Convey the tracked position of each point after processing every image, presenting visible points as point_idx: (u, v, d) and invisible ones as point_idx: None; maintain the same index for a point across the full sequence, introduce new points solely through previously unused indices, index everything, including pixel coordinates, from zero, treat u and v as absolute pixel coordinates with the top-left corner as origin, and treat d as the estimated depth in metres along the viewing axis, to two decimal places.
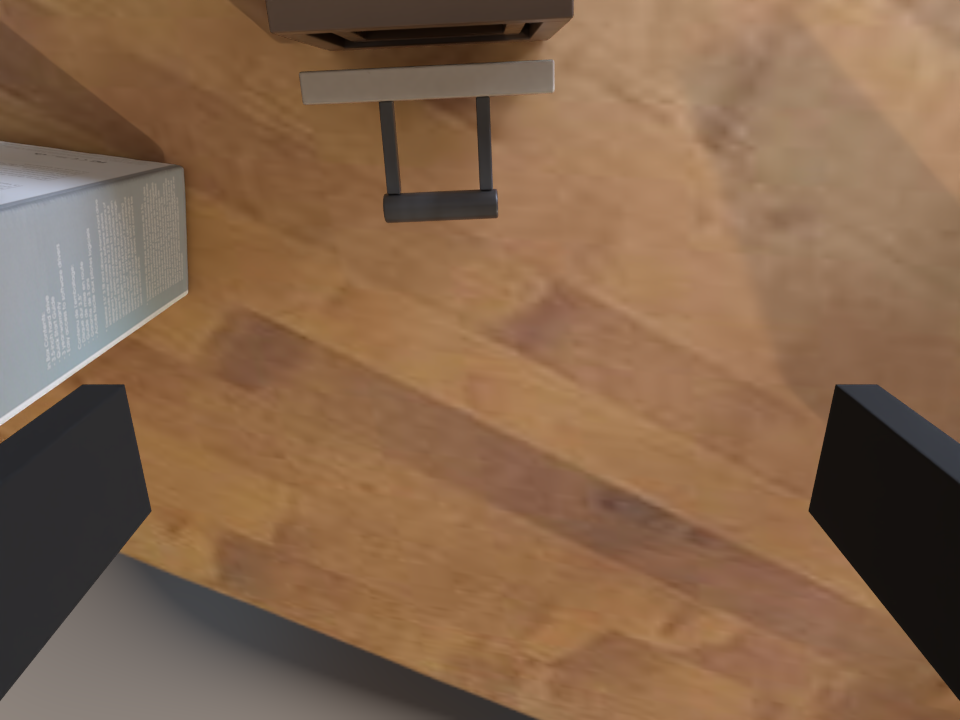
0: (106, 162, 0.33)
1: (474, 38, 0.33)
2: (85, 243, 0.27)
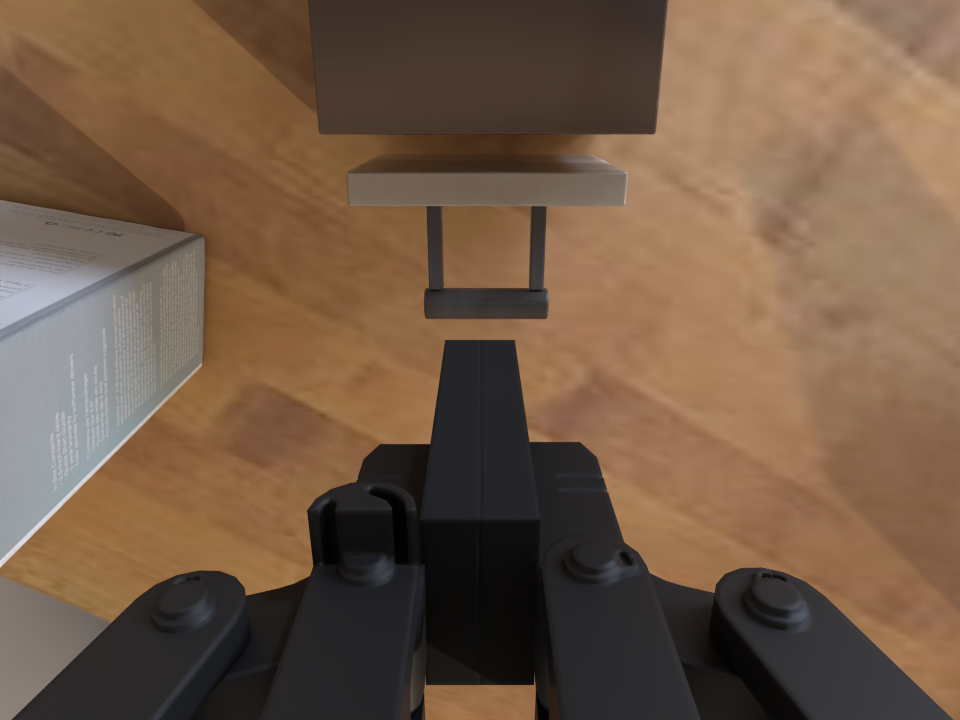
0: (122, 235, 0.30)
1: None
2: (100, 344, 0.24)
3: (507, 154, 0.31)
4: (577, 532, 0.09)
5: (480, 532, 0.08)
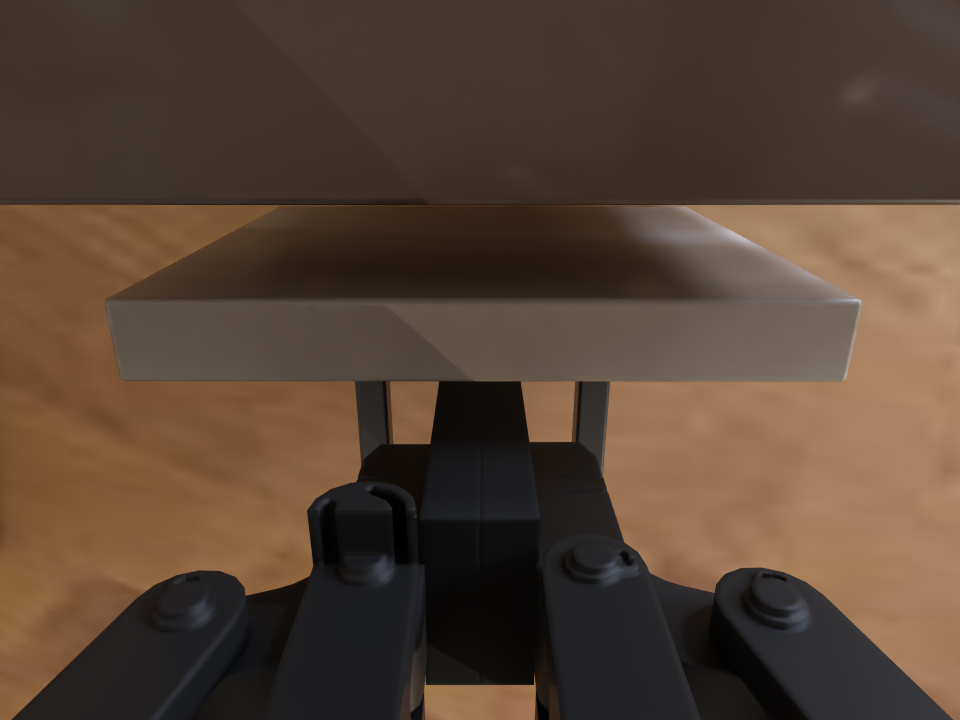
0: None
1: None
2: None
3: None
4: (578, 532, 0.09)
5: (480, 532, 0.08)
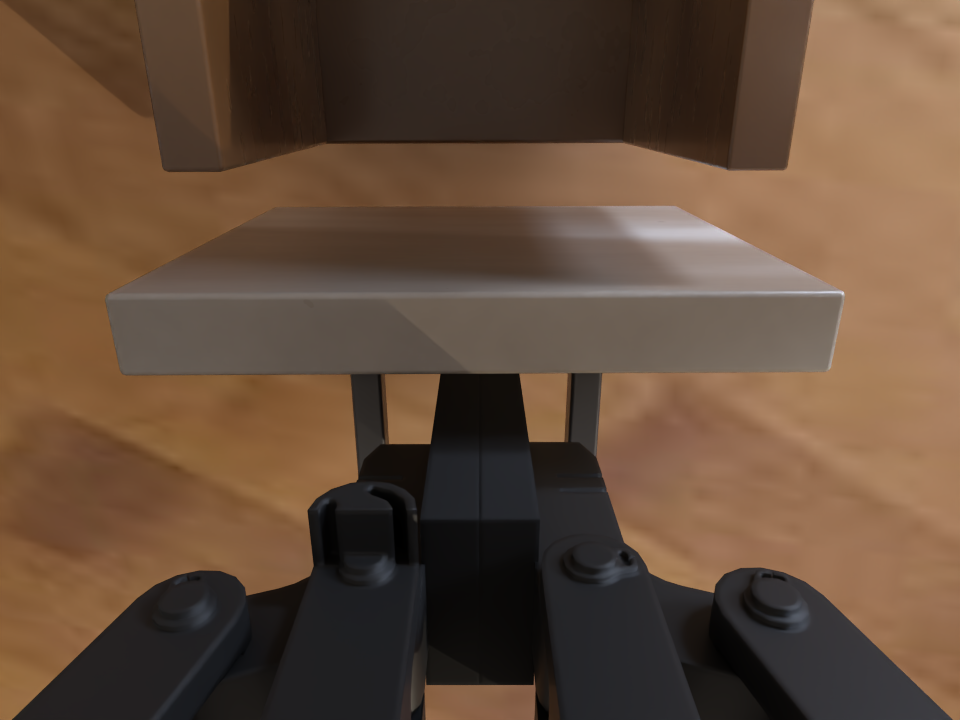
0: None
1: None
2: None
3: (515, 206, 0.16)
4: (577, 532, 0.09)
5: (480, 532, 0.08)
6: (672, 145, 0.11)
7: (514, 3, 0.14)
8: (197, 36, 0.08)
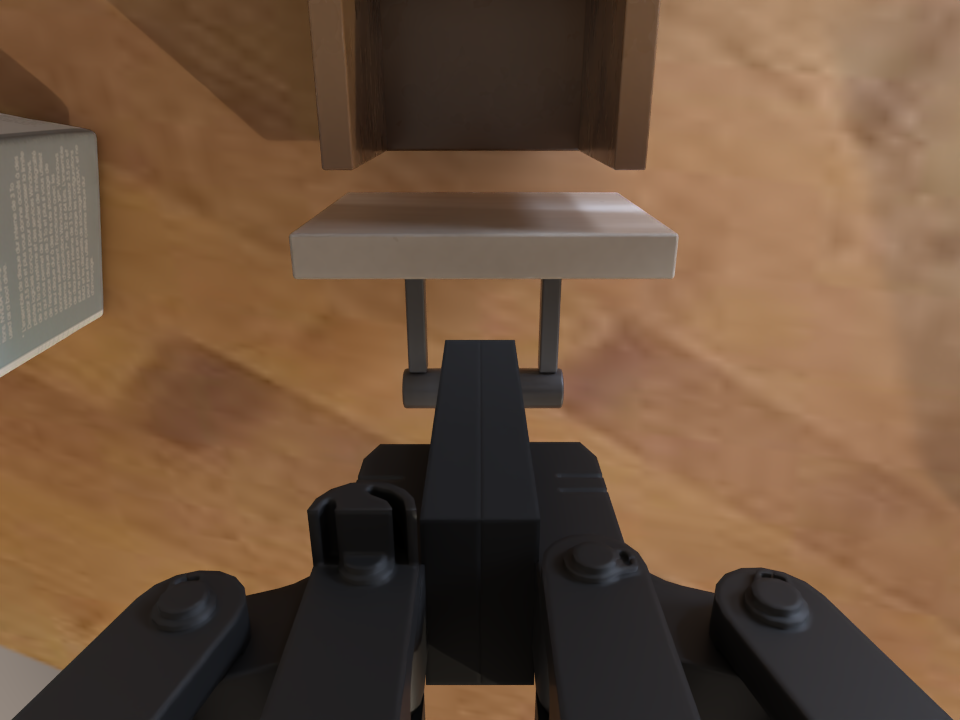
0: None
1: None
2: None
3: (509, 192, 0.24)
4: (578, 532, 0.09)
5: (480, 532, 0.08)
6: (597, 154, 0.19)
7: (508, 62, 0.22)
8: (345, 102, 0.16)
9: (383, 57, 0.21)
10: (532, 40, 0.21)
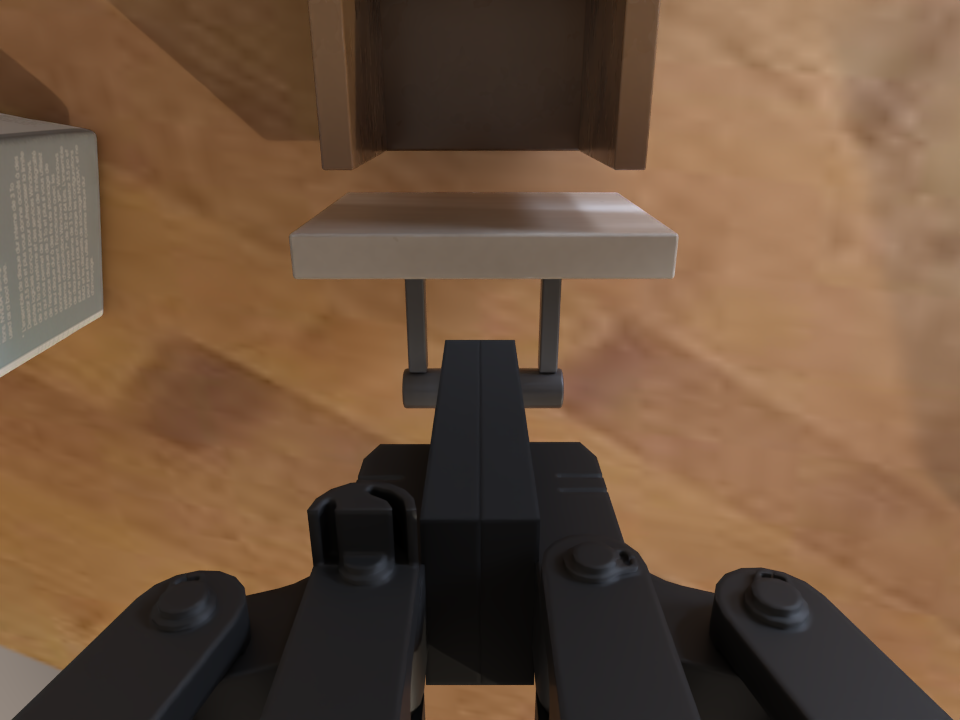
0: None
1: None
2: None
3: (509, 192, 0.24)
4: (578, 532, 0.09)
5: (480, 532, 0.08)
6: (597, 154, 0.19)
7: (508, 62, 0.22)
8: (345, 102, 0.16)
9: (383, 57, 0.21)
10: (532, 40, 0.21)
